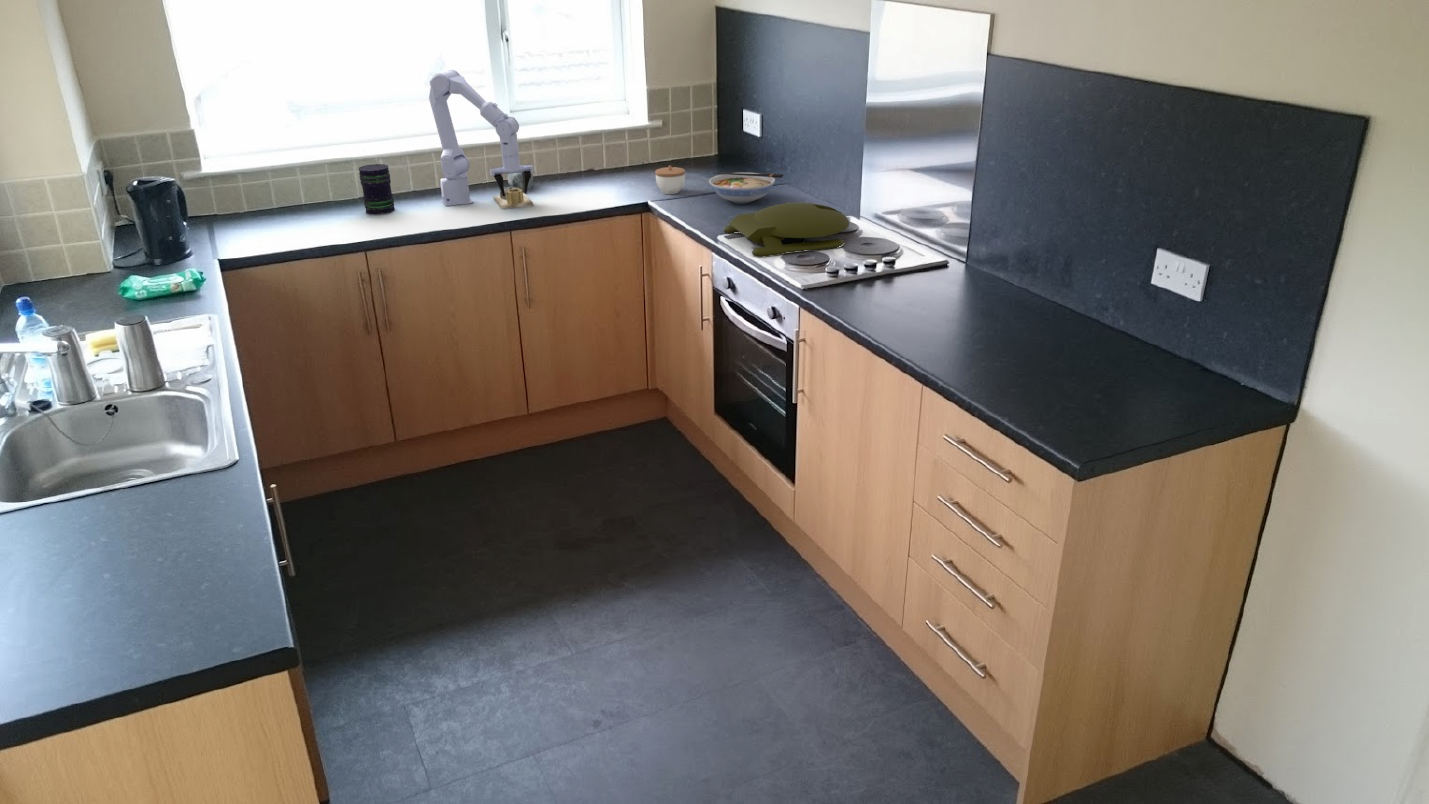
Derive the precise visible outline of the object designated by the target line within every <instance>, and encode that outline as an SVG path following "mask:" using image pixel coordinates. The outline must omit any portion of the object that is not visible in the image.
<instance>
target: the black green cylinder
mask: <svg viewBox="0 0 1429 804" xmlns="http://www.w3.org/2000/svg"><path fill="white" fill-rule="evenodd" d="M358 172H359V180H360V185H361V187H362V192H363V193H362V194H363V196H362V197H363V205H364V209H365V214H367V215H372V216H377V215H379V216H380V215H386V214H390V213H393V212H395V211H396V208H395V204H394V203H395V200H394V194H393V193H392V188H391V187H392V186H391V173H390V170H389V165H387V164H382V163H381V164H380V163H378V164H377V163H375V164H367V165H363V166H359V167H358Z"/></svg>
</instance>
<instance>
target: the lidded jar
mask: <svg viewBox="0 0 1429 804" xmlns="http://www.w3.org/2000/svg"><path fill="white" fill-rule="evenodd" d="M654 174H655V183H656V185H657V187H658V189H659V190H660V191H661V192H662V194H665V195H674V194H675V195H676V194H679V193H680V191H682V189H683V188H684V185H685V183H686V182H685V181H686V170H685V168H682V167H678V166H677V167H675V166H674V167H672V165H668V167H660V168H658V169H656V170H655V171H654Z"/></svg>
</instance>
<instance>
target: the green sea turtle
mask: <svg viewBox="0 0 1429 804" xmlns="http://www.w3.org/2000/svg"><path fill="white" fill-rule="evenodd" d="M849 226H850V221H849V219H848V217H847V216H846V215H845V214H844V213H842V212H841V211H839V210H837V209H835V208H833V207H830V206H827V205H823V204H818V203H811V202H786V203H785V202H784V203H779V204H775V205H770V206H767V207H764V208H762V209H760V210H758V211H756V212H747V213H740V214H738V215H736V216H735V217H734V218H733V219H732V220H730V221H729V222H728V225H725V226H724V228H723V231H724V232H725V233H726V232H728V233H727V234H729V233H734V232H740V233H739V234H742V235H743V236H744V237H746V239H748V240H751V242H754V243H755V244H757V245H763V246H760V247H759V246H758V247H756V248H753V249H752V251H751V254H752V255H753V257H756V256H757V257H758V258H764V257H763V256H766V257H771V256H770V255H775V256H778V255H777V254H782V253H786V252H795V251H804V250H817V251H826V250H831V249H833V248H834V249H838V248H837V247H839V246H841V245H842V244H843V243H845V241H844V240H843V239H841V238H830V239H829V238H828V239H822V240H820V239H819V240H814V241H813V240H811V241H802V242H794V243H786V244H783V243H782V241H783V240H784V239H785V238H788V239H789V238H790V239H791V238H792V239H807V238H809V239H810V238H822V237H828V236H831V235H832V236H833V235H836V234H838V233H839V234H840V233H842V232H843V231H845V230H847V229H848V228H849ZM834 249H833V250H834Z"/></svg>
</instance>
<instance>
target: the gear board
mask: <svg viewBox="0 0 1429 804" xmlns="http://www.w3.org/2000/svg"><path fill="white" fill-rule="evenodd" d="M508 189H509V190H510V189H519V188H513V187H511V186H508V187H506V188H505V187H504V192H505V196H502V194H501V190H500V189H499V195H495V196H494V195H493V198H492V199H493V201H494V202H495V203H496V204H497V206H498V207H499V208H500V209H501V210H505V209H506V210H507V209H515V208H523V207H532V206H534V203H533V201H532V199H530V197H528V196H527V194H525V193H524V192H523V199H524V202H523V203H518V204H509V203H507V198H506V191H507V190H508Z"/></svg>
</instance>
